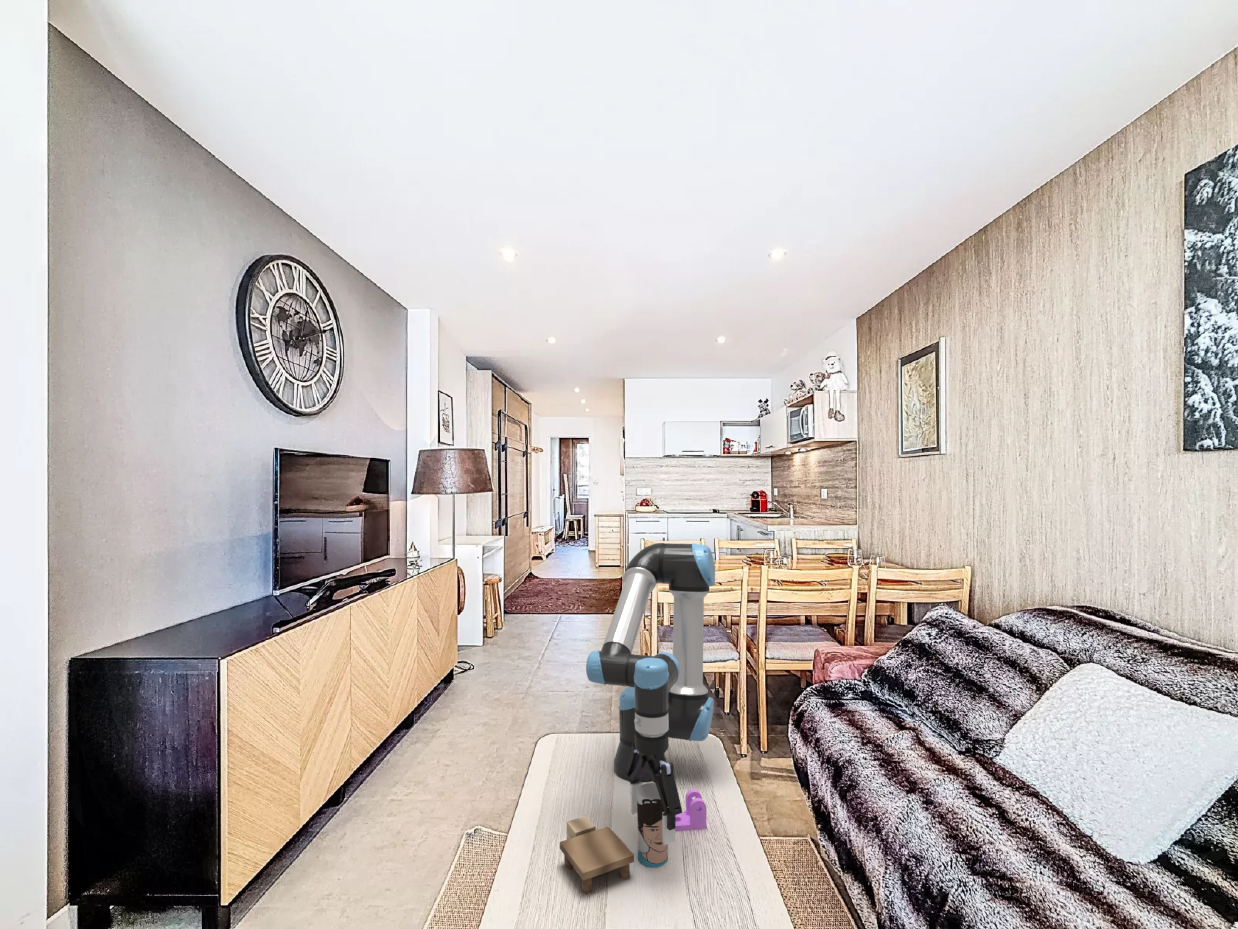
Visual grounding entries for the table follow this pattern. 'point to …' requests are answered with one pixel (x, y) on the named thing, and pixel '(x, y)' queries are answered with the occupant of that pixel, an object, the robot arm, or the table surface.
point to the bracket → (692, 813)
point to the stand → (596, 855)
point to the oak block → (579, 827)
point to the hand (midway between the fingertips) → (652, 826)
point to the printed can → (650, 827)
